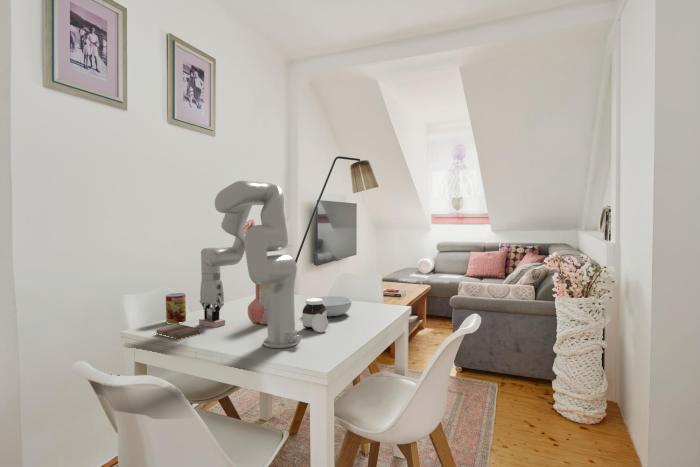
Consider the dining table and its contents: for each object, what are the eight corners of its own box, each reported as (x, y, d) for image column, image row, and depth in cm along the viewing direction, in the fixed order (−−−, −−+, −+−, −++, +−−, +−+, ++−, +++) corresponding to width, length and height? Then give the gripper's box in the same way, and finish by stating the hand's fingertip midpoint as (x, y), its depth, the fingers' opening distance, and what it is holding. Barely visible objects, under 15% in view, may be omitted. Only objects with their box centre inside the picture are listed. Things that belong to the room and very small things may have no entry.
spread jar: (314, 324, 164) (314, 296, 163) (336, 327, 158) (336, 299, 157) (296, 331, 153) (296, 302, 153) (319, 335, 147) (319, 304, 147)
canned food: (176, 324, 166) (175, 296, 165) (162, 323, 168) (161, 295, 168) (189, 320, 173) (189, 293, 173) (176, 318, 176) (175, 292, 175)
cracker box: (271, 325, 162) (270, 275, 162) (258, 324, 164) (257, 275, 163) (286, 317, 176) (285, 271, 175) (273, 316, 177) (273, 271, 177)
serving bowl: (297, 316, 178) (297, 301, 177) (326, 308, 195) (325, 294, 195) (333, 322, 166) (333, 306, 166) (360, 313, 183) (360, 298, 183)
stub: (225, 324, 164) (224, 308, 163) (214, 327, 159) (214, 310, 159) (209, 321, 169) (209, 305, 169) (199, 324, 164) (198, 308, 164)
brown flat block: (199, 333, 151) (199, 328, 151) (178, 340, 143) (178, 334, 143) (177, 329, 158) (177, 323, 158) (156, 334, 150) (156, 329, 150)
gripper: (231, 277, 162) (232, 320, 163) (205, 274, 171) (206, 315, 172) (217, 279, 156) (217, 324, 156) (190, 276, 165) (191, 319, 165)
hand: (211, 319), depth 164 cm, fingers closed on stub, 4 cm apart
